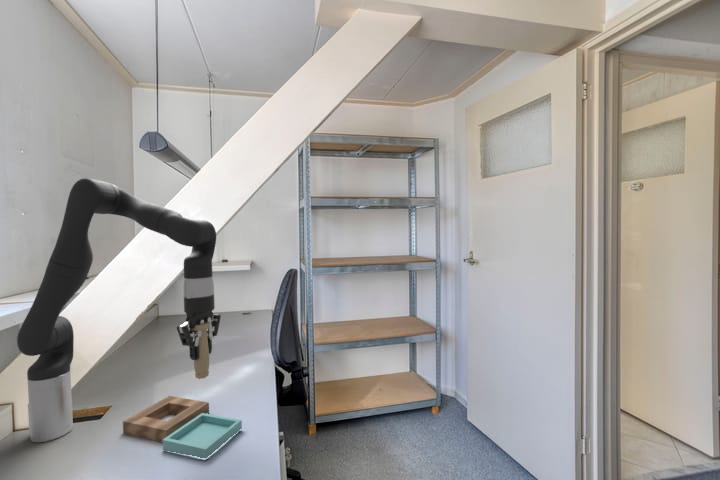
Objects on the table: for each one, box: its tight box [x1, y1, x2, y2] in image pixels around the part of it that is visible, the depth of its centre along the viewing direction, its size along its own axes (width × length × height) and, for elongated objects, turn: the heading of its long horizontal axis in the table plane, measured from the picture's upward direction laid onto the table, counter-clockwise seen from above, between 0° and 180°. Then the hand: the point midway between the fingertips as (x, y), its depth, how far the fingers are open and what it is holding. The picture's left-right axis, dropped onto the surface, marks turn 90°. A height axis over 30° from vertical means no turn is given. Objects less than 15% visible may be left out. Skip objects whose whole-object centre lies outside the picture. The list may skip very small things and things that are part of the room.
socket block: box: [122, 395, 210, 443], centre depth 106 cm, size 16×16×4 cm
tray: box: [162, 413, 243, 458], centre depth 97 cm, size 14×14×3 cm
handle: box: [192, 322, 210, 380], centre depth 96 cm, size 5×6×15 cm
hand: (201, 356), depth 96 cm, fingers closed on handle, 4 cm apart
